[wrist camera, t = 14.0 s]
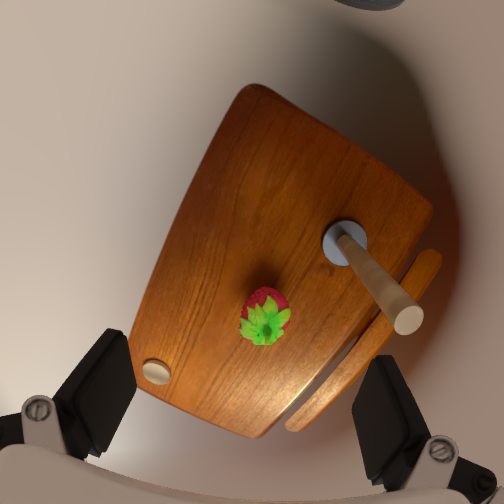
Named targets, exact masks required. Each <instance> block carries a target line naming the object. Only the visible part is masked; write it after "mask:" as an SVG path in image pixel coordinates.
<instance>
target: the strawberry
mask: <svg viewBox="0 0 504 504" xmlns="http://www.w3.org/2000/svg"><path fill="white" fill-rule="evenodd" d="M287 302H288V301H286V299H285V297H284V295H282V294H281V293H280V292H279V291H277V290H276V289H273V288H270V287H268V286H267V287H264V286H263V287H262V288H260V289H257V290H256V291H255V293H253V294H252V296H251V297H249V299H248V300H247V301H246V302H245V305H243V306H244V307H243V310H242V311H241V313H242V316H241V318H240V322H241V323H240V324H239V325H240V327H239V328H238V329H239V331H240V333H241V336H243V338H244V339H245V340H247V341H250V342H252V344H255V345H261V344H262V345H269V344H272V343H274V342H275V341H276V340H277V338H279V337H281V335H282V334H283V333H284V329H285V328H286V327H287V325H288V323H289V322H290V321H289V318H290V316H291V310H290V308H289V306H288V303H287Z"/></svg>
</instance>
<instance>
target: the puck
mask: <svg viewBox="0 0 504 504" xmlns="http://www.w3.org/2000/svg"><path fill="white" fill-rule="evenodd" d="M142 371H143V374H144V376H145V377H146V378H147V379H148V380H149V381H151V382H153V383H155V384H160V385H161V384H166V383H167V382H168V381H169V380H170V377H171V371H170V369H169V368H168V366H167V365H165V364H164V363H163V362H161V361H158V360H148V361H147V362H145V364H144V366H143V368H142Z"/></svg>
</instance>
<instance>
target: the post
mask: <svg viewBox="0 0 504 504" xmlns="http://www.w3.org/2000/svg"><path fill="white" fill-rule="evenodd" d="M321 245H322V250H323V252H324V254H325V256H326V257H327V259H328V260H329V261H330V262H332V263H333V264H335V265H339V266H348V265H350V266H351V268H352V269H353V270H354V272H355V273H356V274H357V276H358V277H359V279H360V280H361V281H362V283H363V284H364V286H365V287H366V288H367V290H368V291H369V293H370V294H371V295H372V297H373V298H374V300H375V301H376V303H377V304H378V305H379V307H380V308H381V310H382V311H383V313H384V314H385V316H386V317H387V319H388V320H389V322H390V323H391V325H392V326H393V328H394V329H395V331H396V332H397V333H399V334H401V335H407V334H410V333H412V332H414V331H415V330H417V329H418V327H419V326H420V325H421V323H422V321H423V311H422V309H421V308H420V306H418V304H417V303H416V302H415V301H414V300H413V299H412V298H411V297H410V296H409V294H408V293H407V292H406V291H405V290H404V289H403V288H402V287H401V286H400V285H399V284H398V283H397V282H396V281H395V280H394V279H393V278H392V277H391V275H390V274H389V273H388V272H387V271H386V270H385V269H384V268H383V267H382V266H381V265H380V264H379V263H378V262H377V261H376V260H375V259H374V258H373V257H372V256H371V255H370V254H369V253H368V252H367V251H366V247H367V236H366V233H365V231H364V230H363V228H362V227H361V226H360V225H359V224H357V223H356V222H354V221H352V220H348V219H341V220H337V221H335V222H333V223H332V224H330V225H329V226H328V227H327V228H326V230H325V231H324V233H323V236H322V241H321Z"/></svg>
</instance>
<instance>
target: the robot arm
mask: <svg viewBox="0 0 504 504" xmlns="http://www.w3.org/2000/svg"><path fill="white" fill-rule="evenodd" d="M136 389H137V383H136V379H135V375H134V370H133V366H132V361H131V356H130V351H129V346H128V341H127V337H126V336H125V335H123V332H122V331H120V330H115V329H110V328H108V329H106V331H105V332H104V333H103V334H102V335H101V336H100V338H99V339H98V340H97V341H96V343H95V344H94V345H93V346H92V348H91V349H90V350H89V351H88V353H87V354H86V355H85V356H84V358H83V359H82V360H81V361H80V363H79V364H78V365H77V366H76V368H75V369H74V370H73V371H72V373H71V374H70V376H69V377H68V378H67V379H66V381H65V382H64V383H63V384H62V386H61V387H60V388H59V390H58V391H57V392H56V394H55V395H54V396H53V398H52V399H51V398H49V397H47V396H44V395H36V396H32V397H30V398H29V399H27V400H26V401H25V402H24V404H23V406H22V411H21V412H20V413H16V414H11V415H6V416H1V417H0V504H504V488H503V487H502V486H500V487H499V488H498V487H497V480H496V477H495V474H494V473H493V472H492V471H490V470H489V469H487V468H484V467H482V466H479V465H477V464H475V463H472V462H470V461H468V460H466V459H463V458H461V457H459V456H458V453H459V451H458V446H457V445H456V443H455V442H454V441H453V440H452V439H451V438H449V437H448V436H444V435H436V436H433V437H431V434H430V432H429V430H428V428H427V425H426V423H425V421H424V418H423V416H422V414H421V412H420V410H419V408H418V406H417V403H416V402H415V399H414V397H413V395H412V393H411V391H410V389H409V388H408V386H407V384H406V382H405V380H404V378H403V376H402V374H401V372H400V370H399V368H398V366H397V364H396V362H395V360H394V358H393V357H392V356H391V355H377V356H376V357H375V359H372V360H371V362H370V364H369V367H368V370H367V372H366V375H365V377H364V380H363V382H362V384H361V387H360V389H359V391H358V394H357V396H356V398H355V401H354V403H353V406H352V415H353V419H354V423H355V427H356V431H357V436H358V440H359V444H360V448H361V453H362V457H363V461H364V466H365V471H366V475H367V478H368V479H369V480H371V481H372V485H373V486H374V485H380V484H384V488H385V491H384V492H383V493H381V494H375V495H368V496H362V497H353V498H345V499H334V500H320V501H294V502H293V501H292V502H291V501H289V502H287V501H254V500H242V499H231V498H223V497H214V496H208V495H202V494H196V493H190V492H185V491H180V490H175V489H171V488H166V487H162V486H158V485H154V484H150V483H147V482H143V481H140V480H136V479H133V478H130V477H126V476H123V475H120V474H117V473H114V472H111V471H108V470H106V469H103V468H100V467H97V466H95V465H92V464H89V463H87V461H86V458H87V456H88V454H91V455H93V456H96V457H98V458H99V457H100V455H101V453H102V452H106V451H107V449H108V447H109V445H110V443H111V441H112V438H113V436H114V434H115V432H116V430H117V428H118V426H119V424H120V422H121V420H122V418H123V416H124V414H125V412H126V410H127V408H128V406H129V404H130V402H131V400H132V398H133V396H134V394H135V392H136Z"/></svg>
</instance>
